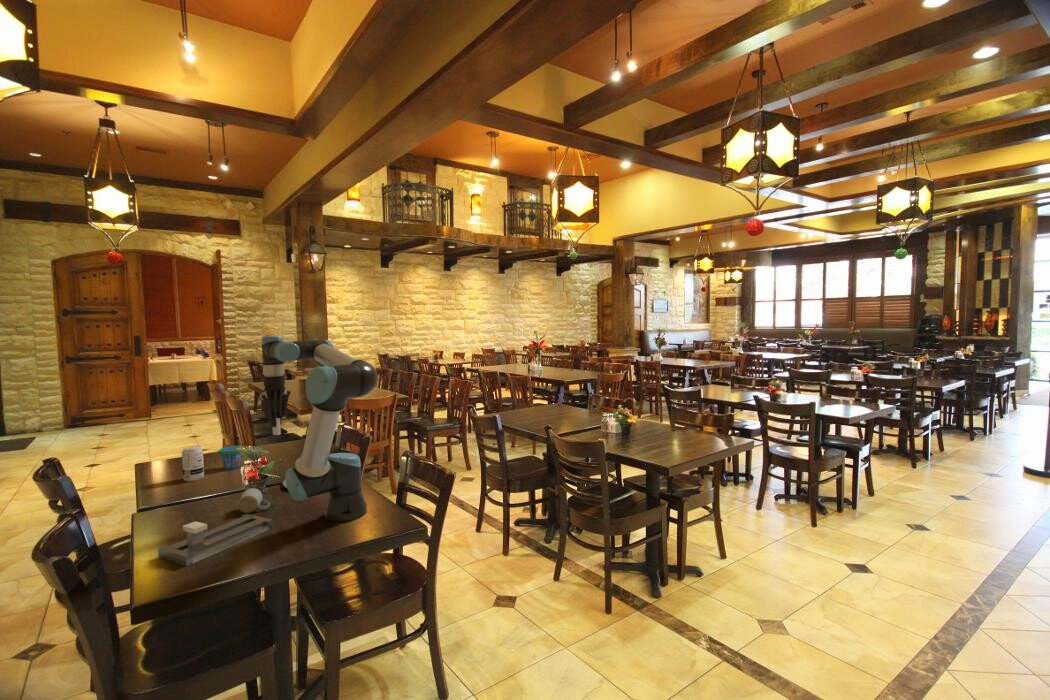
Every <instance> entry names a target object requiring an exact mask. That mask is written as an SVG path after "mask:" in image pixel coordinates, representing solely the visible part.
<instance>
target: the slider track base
mask: <svg viewBox="0 0 1050 700" xmlns="http://www.w3.org/2000/svg"><path fill="white" fill-rule="evenodd" d="M271 529H274V519H270V518H267V517H262V516H259V515H254V514H250V513H245V514H242V515H241V517H240V518H237V519H234V520H232V521H229V522H227V523H224V524H221V525H219V526H217V527H214V528H212V529H209V530H205V531H204V538H205V541H204V542H200V543H199V544H196V545H194V546H192V547H189V548H188V547H187V538H186V539H184V540H181V541H179V542H176V543H174V544H171V545H169V546H167V545H163V546H161V547H158V548H157V550H158V558H159V559H161V558H162V560H165V561H168V562H172V563H175V564H177V565H181V566H184V567H188V566H190V565H193V564H195V563H197V562H199V561H201V560H204V559H206V558H208V557H210V556H212V555H216V554H217V553H220V552H222V551H224V550H226V549H229V548H232V547H233V546H236V545H237V544H240V543H242V542H244V541H246V540H249V539H251V538H254V537H256V536H258V535H260V534H262V533H265V532H267V531H270V530H271Z"/></svg>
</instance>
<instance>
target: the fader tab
mask: <svg viewBox="0 0 1050 700" xmlns="http://www.w3.org/2000/svg"><path fill="white" fill-rule="evenodd" d="M207 530H208V524H207V523H204V522H199V521H193V522H190V523H187V524H184V525H182V531H183V532H186V539H187V547H188V548H189V547H192V546H194V545H196V544H199V543H200V542H204V541H205V538H204V532H205V531H207Z"/></svg>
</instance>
